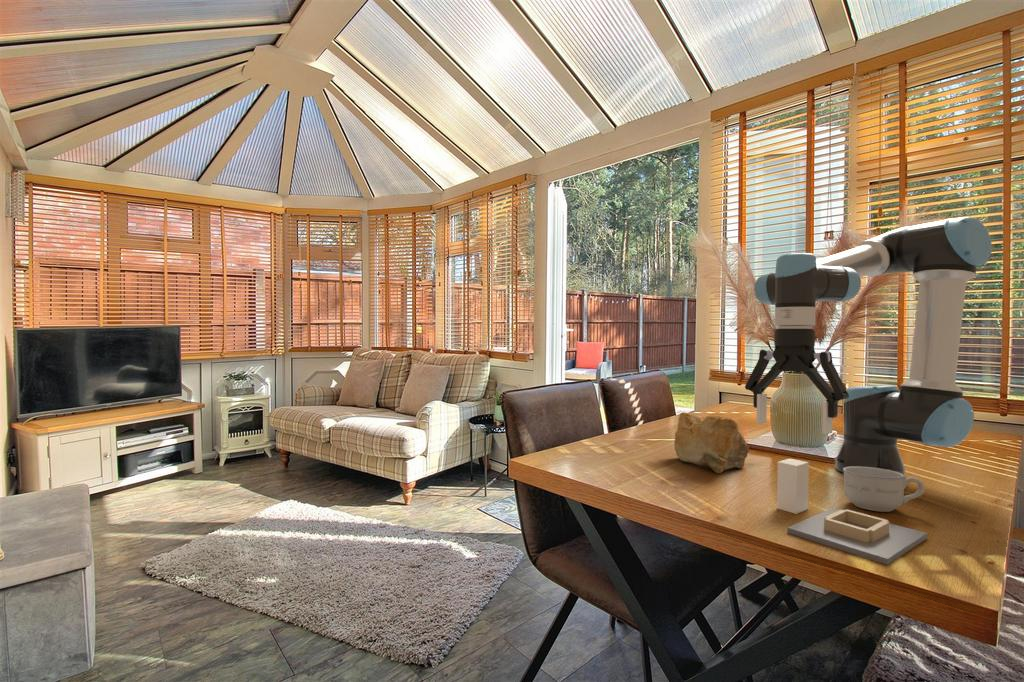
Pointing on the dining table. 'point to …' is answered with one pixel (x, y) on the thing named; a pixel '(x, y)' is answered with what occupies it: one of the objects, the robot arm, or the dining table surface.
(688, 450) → the rough brown rock
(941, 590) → the dining table surface
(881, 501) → the teacup
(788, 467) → the plug
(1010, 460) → the dining table surface
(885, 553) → the socket plate
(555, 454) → the dining table surface
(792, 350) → the robot arm
